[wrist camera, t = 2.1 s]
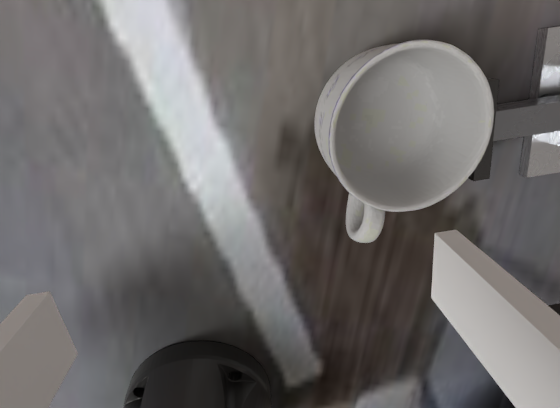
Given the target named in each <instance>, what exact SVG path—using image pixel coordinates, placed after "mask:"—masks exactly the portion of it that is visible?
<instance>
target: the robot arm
mask: <svg viewBox="0 0 560 408" xmlns="http://www.w3.org/2000/svg"><path fill="white" fill-rule="evenodd" d="M431 298H432V299H433V301H434V302H435V303H436V305H437V306H438V307H439V309H440V310H441V311H442V313H443V314H444V315H445V316H446V318H447V319H448V320H449V322H450V323H451V324H452V326H453V327H454V328H455V329H456V331H457V332H458V333H459V335H460V336H461V337H462V339H463V340H464V341H465V342H466V344H467V345H468V346H469V348H470V349H471V350H472V352H473V353H474V354H475V356H476V357H477V358H478V359H479V361H480V362H481V363H482V365H483V366H484V367H485V369H486V370H487V371H488V372H489V374H490V375H491V376H492V378H493V379H494V380H495V382H496V383H497V384H498V386H499V387H500V388H501V389H502V391H503V392H504V393H505V395H506V396H507V397H508V399H509V400H510V401H511V402H512V404H513V405H514V406H515V408H560V304H555V305H549V306H548V305H547V304H545V303H544V302H543V301H542V300H540V299H539V298H538V297H537V296H536V295H534V294H533V293H532V292H531V291H530V290H528V289H527V288H526V287H525V286H524V285H522V284H521V283H520V282H519V281H518V280H516V279H515V278H514V277H513V276H512V275H510V274H509V273H508V272H507V271H505V270H504V269H503V268H502V267H501V266H499V265H498V264H497V263H496V262H495V261H493V260H492V259H491V258H490V257H489V256H487V255H486V254H485V253H484V252H483V251H481V250H480V249H479V248H478V247H477V246H475V245H474V244H473V243H472V242H470V241H469V240H468V239H467V238H466V237H464V236H463V235H462V234H461V233H460V232H458V231H457V230H451V231H445V232H438V233H435V238H434V256H433V273H432V291H431ZM77 355H78V353H77V351H76V348H75V346H74V344H73V342H72V339H71V337H70V335H69V333H68V331H67V328H66V326H65V324H64V322H63V320H62V317H61V315H60V313H59V311H58V308H57V306H56V304H55V302H54V300H53V297H52V295H51V293H50V292H44V293H37V294H30V295H26V296H25V297H24V298H23V299H22V301H21V302H20V303H19V304H18V305H17V306H16V307H15V308H14V309H13V311H12V312H11V313H10V314H9V315H8V316H7V317H6V318H5V319H4V320H3V322H2V323H1V324H0V408H48V407H49V405H50V403H51V402H52V400H53V398H54V396H55V394H56V393H57V391H58V389H59V387H60V385H61V384H62V382H63V380H64V378H65V376H66V375H67V373H68V371H69V369H70V367H71V366H72V364H73V362H74V360H75V358H76V357H77ZM124 408H271V394H270V384H269V380H268V377H267V374H266V372H265V371H264V369H263V368H262V366H261V365H260V364H259V363H258V362H257V361H256V360H255V359H254V358H253V357H251V356H250V355H249V354H247V353H245V352H244V351H242V350H240V349H238V348H235V347H233V346H230V345H226V344H222V343H217V342H209V341H194V342H186V343H180V344H176V345H173V346H170V347H167V348H165V349H162V350H160V351H158V352H157V353H155V354H153V355H152V356H150V357H149V358H148V359H146V360H145V361H144V362H143V363H142V364H141V365H140V366H139V368H138V369H137V370H136V372H135V373H134V375H133V377H132V380H131V383H130V386H129V389H128V391H127V394H126V398H125V402H124Z"/></svg>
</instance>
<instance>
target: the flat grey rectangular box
mask: <svg viewBox="0 0 560 408" xmlns="http://www.w3.org/2000/svg"><path fill="white" fill-rule="evenodd" d="M555 95H560V26H556V27H549V28H542V29H538V35H537V43H536V50H535V58H534V65H533V73H532V80H531V87H530V95H529V99H535V98H542V97H548V96H555ZM559 172H560V131H556V132H549V133H543V134H537V135H530V136H524V140H523V147H522V155H521V162H520V170H519V174H520V175H522V176H524V177H526V178H528V177H534V176H540V175H546V174H553V173H559Z"/></svg>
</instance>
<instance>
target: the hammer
mask: <svg viewBox="0 0 560 408" xmlns="http://www.w3.org/2000/svg"><path fill="white" fill-rule="evenodd" d="M487 80H488V83H489V86H490V89H491V92H492V97H493V104H494V119H493V128H492V133H491V136H490V140H489V144H488V146H487V148H486V151H485V153H484V155H483V157H482V159H481V161H480V163H479V164H478V166H477V167H476V169H475V170H474V171H473V173H472V174H471V175H470V176H469V177H468V178H469V179H471V180H473V181H477V180H483V179H489V177H490V167H491V157H492V147H493V141H499V140H505V139H511V138H518V137H524V136H530V135H537V134H543V133H549V132H556V131H560V95H555V96H548V97H542V98H535V99H529V100H522V101H516V102H509V103H503V104H497V97H498V87H499V79H489V78H487Z"/></svg>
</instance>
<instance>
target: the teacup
mask: <svg viewBox="0 0 560 408" xmlns="http://www.w3.org/2000/svg"><path fill="white" fill-rule="evenodd" d="M493 119H494V104H493V97H492V92H491V89H490V86H489V83H488V80H487V78H486V77H485V75H484V73H483V72H482V70H481V68H480V67H479V66H478V64H477V63H476V62H475V61H474V60H473V59H472V58H471V57H470V56H469V55H467V54H466V53H465V52H463V51H462V50H460V49H459V48H457V47H455V46H453V45H451V44H448V43H444V42H440V41H435V40H426V39H421V40H411V41H406V42H402V43H399V44H391V45H385V46H380V47H375V48H372V49H369V50H367V51H364V52H362V53H359V54H357V55H356V56H354V57H352V58H351V59H349V60H348V61H347V62H345V63H344V64H343V65H342V66H341V67H340V68H339V69H338V70H337V71H336V72H335V73H334V74H333V75H332V77H331V78H330V79H329V81H328V82H327V84H326V85H325V87H324V89H323V91H322V93H321V95H320V98H319V101H318V104H317V108H316V113H315V135H316V141H317V144H318V147H319V150H320V152H321V154H322V156H323V158H324V160H325V162H326V163H327V165H328V166H329V168H330V169H331V170H332V171H333V173H334V174H335V175H336V176H337V177H338V179H339V181H340V182H341V184H342V185H343V186H344V188H345V189H346V190H347V191H348V192H349V196H348V203H347V211H346V229H347V233H348V235H349V236H350V238H351V239H353V240H355V241H357V242H361V243H369V242H372V241H374V240H375V239H376V238H377V237H378V236H379V234H380V233H381V230H382V228H383V224H384V218H385V211H392V212H403V211H412V210H418V209H422V208H425V207H428V206H431V205H433V204H435V203H437V202H439V201H441V200H443V199H444V198H446V197H447V196H449V195H450V194H451V193H453V192H454V191H455V190H456V189H458V188H459V187H460V186H461V185H462V184H463V183H464V182H465V181H466V180H467V179H468V177H469V176H470V175H471V174H472V173H473V171H474V170H475V169H476V167H477V166H478V164H479V163H480V161H481V159H482V157H483V155H484V153H485V151H486V148H487V146H488V144H489V140H490V136H491V133H492V128H493Z"/></svg>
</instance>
